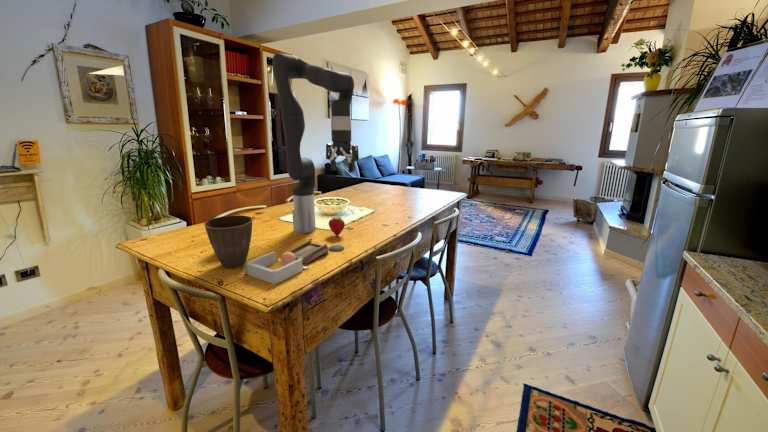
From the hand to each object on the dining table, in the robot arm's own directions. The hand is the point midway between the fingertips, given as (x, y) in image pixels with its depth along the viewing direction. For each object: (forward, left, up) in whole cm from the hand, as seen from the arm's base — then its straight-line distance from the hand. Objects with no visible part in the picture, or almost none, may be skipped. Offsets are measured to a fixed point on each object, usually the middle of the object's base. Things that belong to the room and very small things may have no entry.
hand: (342, 171), depth 132 cm
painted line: (-3, -27, -30) cm, 40 cm away
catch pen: (-3, -35, -30) cm, 46 cm away
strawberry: (-9, +6, -30) cm, 32 cm away
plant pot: (-20, -38, -30) cm, 52 cm away
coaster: (+1, -7, -30) cm, 31 cm away
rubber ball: (-3, -28, -28) cm, 39 cm away
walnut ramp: (-3, -19, -30) cm, 35 cm away
